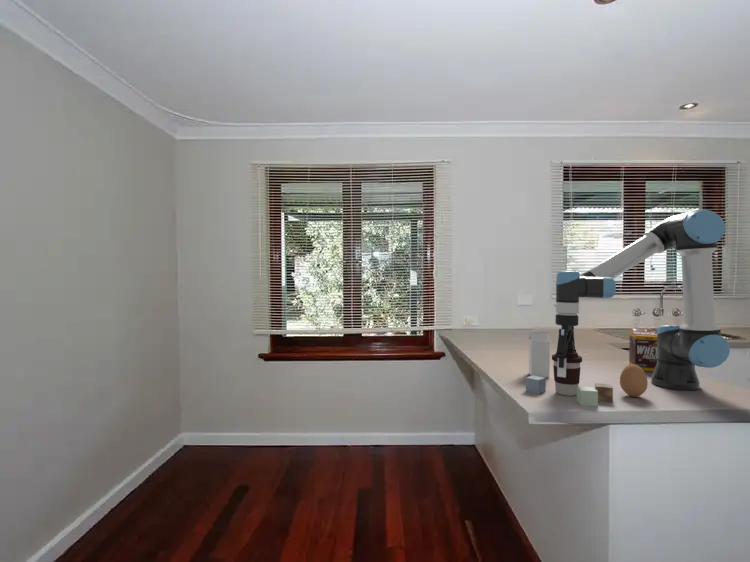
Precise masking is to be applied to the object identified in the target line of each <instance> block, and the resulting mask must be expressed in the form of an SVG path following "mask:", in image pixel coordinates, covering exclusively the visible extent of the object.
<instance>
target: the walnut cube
mask: <svg viewBox="0 0 750 562" xmlns="http://www.w3.org/2000/svg"><path fill="white" fill-rule="evenodd" d="M594 386H595V387H594V389H596V390H597V391H598V402H605V403H610V404H611V403H614V400H613V399H614V398H613V397H614V388H613V384H610V383H601V382H600V383H599V382H595V385H594Z"/></svg>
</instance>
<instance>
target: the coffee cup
mask: <svg viewBox="0 0 750 562" xmlns="http://www.w3.org/2000/svg"><path fill="white" fill-rule="evenodd" d="M556 354H557V351H555V353H554V354H552V355H551V361H553V365H552V366H553V380H554V385H555V386H554V387H555V392H556V394H557V395H558V394H559V395H562V396H567V397H572V396H573V397H574V396H577V387H579V384H580V380H581V379H580V378H581V363H582V362H583V356H580V355H579V354H578V352H577V351H576V352H574V351H568V350H567V352H566V378H565V377H558V376H557V362H558V358H555V355H556Z"/></svg>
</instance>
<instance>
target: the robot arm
mask: <svg viewBox="0 0 750 562" xmlns="http://www.w3.org/2000/svg"><path fill="white" fill-rule="evenodd" d="M725 231H726V226H725V222H724V220H723V218H722V217H721V216H720V215H719V214H717V212H715V211H712V210H709V209H708V210H707V209H698V210H691V211H688V212H684V213H679V214H675V215H671V216H670V217H667V218H666V219H664V220H662V221H661V222H659V223H658V224H656V225H654V226H653V227H651V228H649V230H647V231H645V232H644V233H643V234H642V235H643V236H642V237H640V238H638V239H637V240H635V241H634V242H632V243H631V244H629V245H627V246H626V247H624V248H623V249H621V250H619V251H617V252H616V253H614V254H613V255H611V256H609V257H608V258H606V259H604V260H603V261H601V262H600V263H598V264H596V265H595V266H593V267H591V268H590V269H588V270H587V271H585V272H584V273H582V274H580V271H577V270H576V271H573V270H572V271H571V270H568V271H567V270H561V271H558V272H557V274H556V279H555V280H556V282H555V304H553V306H554V307H555V313H556V314H555V325H557V326H561V328H559V329H558V337H557V338H558V339H557V348H556V352H557V354H556V353H555V354H556V355H555V358H558V362H557V376H558V377H565V378H566V352H567V350H568V351H574V352H577V349H576V344H575V343H576V342H575V331H574V330H575V327H577V326H579V315H578V314H579V313H580V299H581V298H583V299H584V298H585V299H586V298H587V299H602V300H603V299H612V298H613V297H614V296H615V294H616V292H617V285H616V281H615V279H616V278H617V277H618V276H621V275H622V274H624V273H625V272H627V271H628V270H630V269H631V268H632V269H633V267H635V266H637V265H639V264H640V263H642V262H644V261H645V260H647V259H648V258H650V257H652V256H654V255H655V254H661V253H663V252H666V251H667V250H670V249H671V248H675V251H676V253H678V254H679V255H680V257H681V277H682V279H681V280H682V298H683V299H682V301H683V323H682V324H680V325H659V326H658V327H657V330H656V331H657V332H656V333H657V364H656V367H655V369H654V372H653V371H652V374H651V376H650V377H651V379H650V380H651V384H652V385H655V386H657V387H660V388H665V389H672V390H680V391H696V389H697V390H700V380H699V376H698V375H697V372H696V369H695V367H699V368H700V367H701V368H706V369H712V368H716V367H719V366H721V365H723V363H724V362H726V361H727V360H728V358H729V355H730V354H731V353H730V351H731V347H730V344H729V342H728V341H727V340H726V339H725V338H724V337H723V336H721V335H722V332H721V331H722V330H721V327H720V326H719V325H718V324H717V323H716V322H715V321H716V320H715V317H716V316H715V300H714V299H715V297H714V294H715V293H714V272H713V271H714V270H713V269H714V267H713V254H714V252H715V251H716V250H717V249H718V241H719V240H721V239H722V238H721V237H723V236H724V235H725Z"/></svg>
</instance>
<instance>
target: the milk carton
mask: <svg viewBox="0 0 750 562" xmlns="http://www.w3.org/2000/svg"><path fill="white" fill-rule="evenodd" d="M550 351H551V350H550V337H549V330H533V329H532V330H530V331H529V337H528V373H529V375H530V376H538V377H544V378H550V360H551V359H550V357H551V355H550V354H551V353H550Z"/></svg>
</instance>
